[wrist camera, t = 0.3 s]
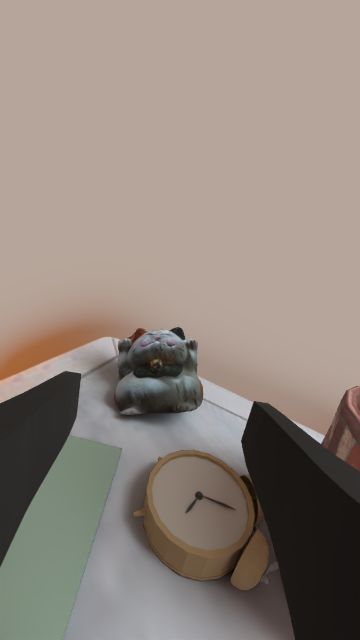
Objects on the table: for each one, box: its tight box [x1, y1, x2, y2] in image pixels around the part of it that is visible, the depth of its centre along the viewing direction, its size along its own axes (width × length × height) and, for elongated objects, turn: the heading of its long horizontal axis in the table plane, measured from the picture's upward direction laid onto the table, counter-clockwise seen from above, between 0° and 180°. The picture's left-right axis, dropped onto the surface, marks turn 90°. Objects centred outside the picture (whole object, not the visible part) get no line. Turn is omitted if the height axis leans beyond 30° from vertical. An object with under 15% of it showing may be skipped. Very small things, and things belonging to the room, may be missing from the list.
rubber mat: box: [0, 435, 122, 640], centre depth 22 cm, size 20×16×1 cm
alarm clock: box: [133, 450, 279, 590], centre depth 27 cm, size 11×5×15 cm
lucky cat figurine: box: [114, 327, 203, 415], centre depth 43 cm, size 15×12×14 cm
